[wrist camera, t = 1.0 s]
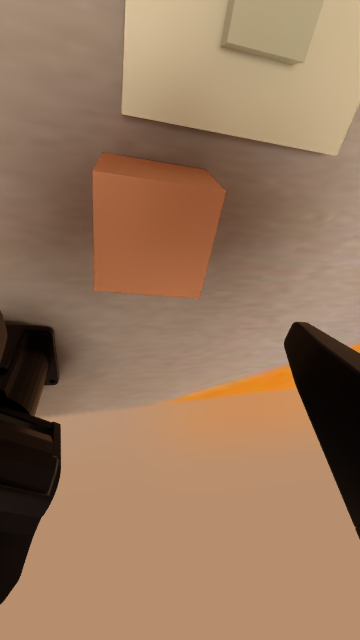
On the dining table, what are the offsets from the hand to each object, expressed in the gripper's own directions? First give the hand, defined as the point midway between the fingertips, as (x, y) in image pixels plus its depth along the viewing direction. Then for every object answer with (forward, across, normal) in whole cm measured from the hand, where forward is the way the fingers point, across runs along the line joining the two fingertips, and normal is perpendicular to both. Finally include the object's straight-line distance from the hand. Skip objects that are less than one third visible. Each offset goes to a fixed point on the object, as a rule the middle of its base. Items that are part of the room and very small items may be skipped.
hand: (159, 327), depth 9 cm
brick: (+12, 0, 0) cm, 12 cm away
